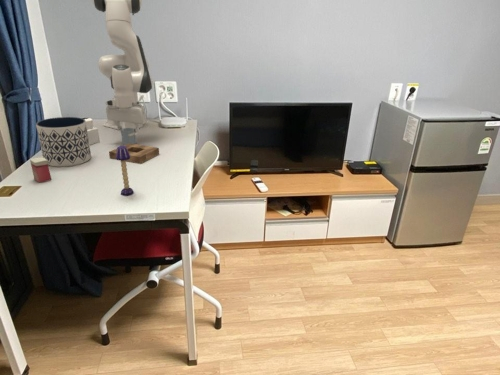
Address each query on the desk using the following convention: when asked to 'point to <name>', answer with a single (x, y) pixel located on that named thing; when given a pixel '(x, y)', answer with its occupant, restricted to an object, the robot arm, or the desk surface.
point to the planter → (64, 141)
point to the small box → (40, 169)
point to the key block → (128, 136)
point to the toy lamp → (124, 168)
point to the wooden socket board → (138, 153)
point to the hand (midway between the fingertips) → (128, 131)
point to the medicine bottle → (92, 131)
